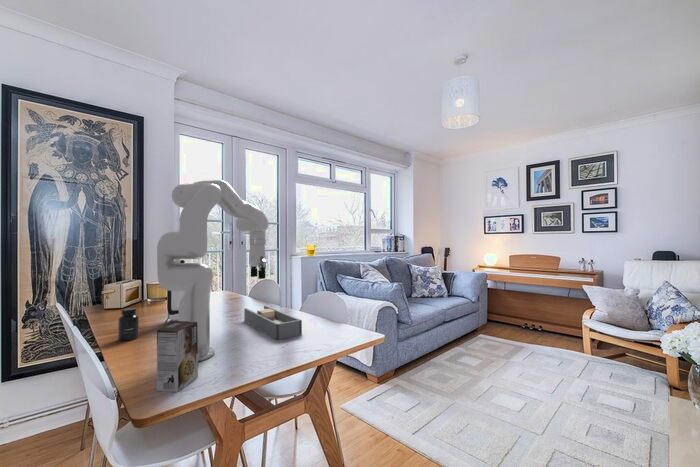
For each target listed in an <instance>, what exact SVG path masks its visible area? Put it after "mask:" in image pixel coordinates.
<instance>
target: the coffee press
mask: <svg viewBox="0 0 700 467" xmlns="http://www.w3.org/2000/svg"><path fill="white" fill-rule="evenodd" d="M180 263H186V261H185V259H180ZM166 291H167V292H166V299H167V300H166V302H167V303H166V305H167V306H166V308H167V310H166V311H167V318H166V320H165V322H164V323H165V324H166V325H170V323H171V322H172V321H174V322H177V321H179V303H180V300H181V299H182V297H183V295H184V294H185V291H169V290H166Z"/></svg>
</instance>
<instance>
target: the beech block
mask: <svg viewBox="0 0 700 467" xmlns="http://www.w3.org/2000/svg"><path fill="white" fill-rule="evenodd" d="M256 311H257V312H256V313H257V314H259V315H261V316H263V317H265V318H267V319H270V320H275V311H274V310H271V309H264V308H263V309H259V310H258V309H257V310H256Z"/></svg>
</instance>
